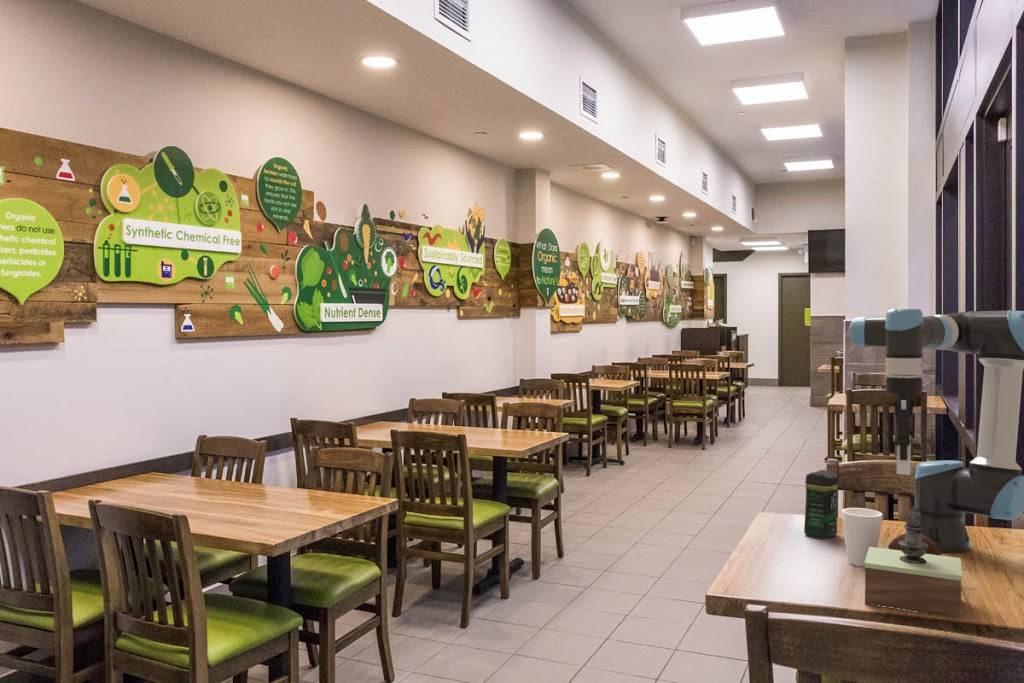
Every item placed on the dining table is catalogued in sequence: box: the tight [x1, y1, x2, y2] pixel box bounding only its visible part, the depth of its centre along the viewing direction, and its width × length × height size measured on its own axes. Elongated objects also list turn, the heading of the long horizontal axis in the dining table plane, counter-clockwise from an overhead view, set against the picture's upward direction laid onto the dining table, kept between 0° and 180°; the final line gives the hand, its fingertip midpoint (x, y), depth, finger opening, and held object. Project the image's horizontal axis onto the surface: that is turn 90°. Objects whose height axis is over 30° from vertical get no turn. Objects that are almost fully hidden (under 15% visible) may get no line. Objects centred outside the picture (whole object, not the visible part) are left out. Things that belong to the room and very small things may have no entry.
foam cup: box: [841, 507, 884, 567], centre depth 198 cm, size 10×9×13 cm
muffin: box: [887, 533, 943, 556], centre depth 188 cm, size 12×11×10 cm
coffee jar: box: [803, 469, 839, 539], centre depth 224 cm, size 10×8×19 cm
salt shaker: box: [898, 505, 929, 564], centre depth 171 cm, size 6×6×12 cm
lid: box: [863, 547, 963, 582], centre depth 172 cm, size 15×18×2 cm
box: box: [864, 567, 962, 620], centre depth 171 cm, size 14×18×8 cm
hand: (903, 468), depth 179 cm, fingers open, 13 cm apart
